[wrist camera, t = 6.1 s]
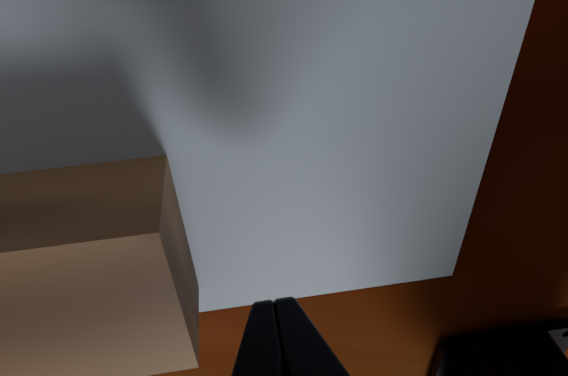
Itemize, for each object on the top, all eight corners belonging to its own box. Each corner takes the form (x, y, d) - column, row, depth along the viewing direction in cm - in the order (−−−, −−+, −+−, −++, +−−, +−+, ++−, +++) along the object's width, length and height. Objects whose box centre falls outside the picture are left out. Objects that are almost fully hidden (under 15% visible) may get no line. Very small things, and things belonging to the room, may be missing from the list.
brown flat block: (198, 286, 13) (198, 367, 11) (34, 309, 12) (3, 398, 10) (166, 154, 10) (159, 232, 8) (-48, 179, 9) (-112, 267, 7)
